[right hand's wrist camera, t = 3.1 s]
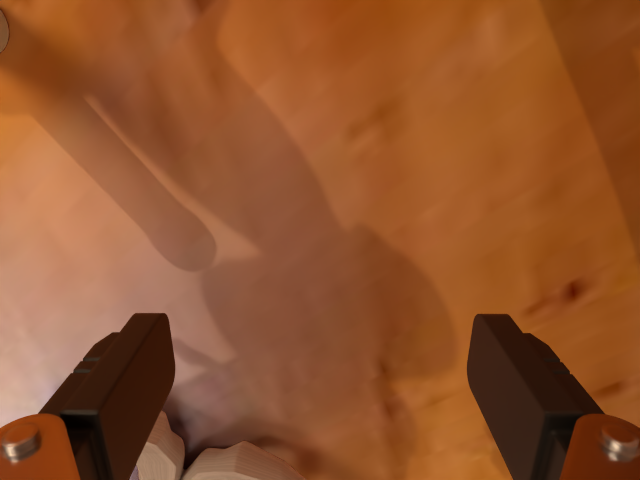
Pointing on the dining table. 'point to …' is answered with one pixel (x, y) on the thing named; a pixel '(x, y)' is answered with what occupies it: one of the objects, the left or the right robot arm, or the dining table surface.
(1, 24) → the jar
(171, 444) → the animal horns
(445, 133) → the dining table surface
